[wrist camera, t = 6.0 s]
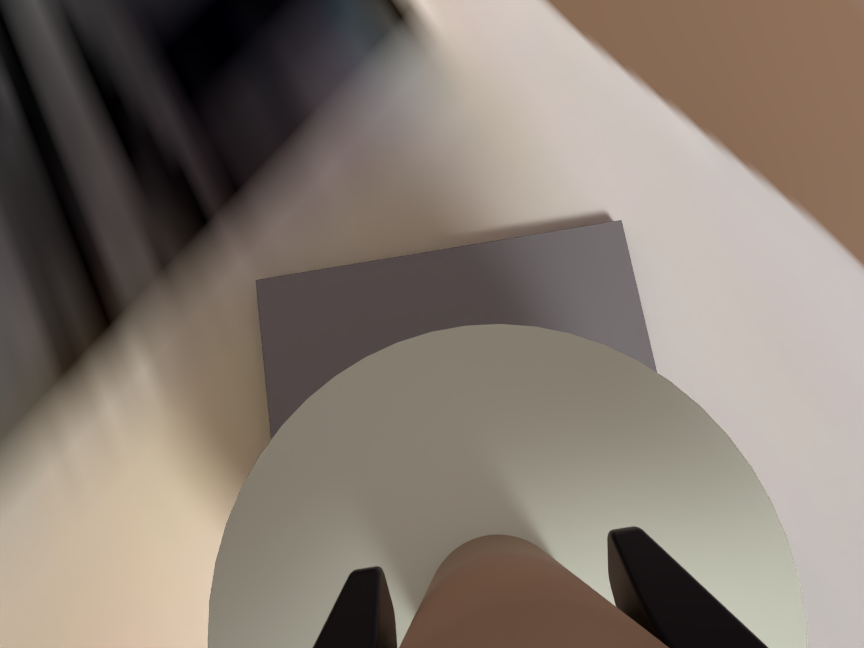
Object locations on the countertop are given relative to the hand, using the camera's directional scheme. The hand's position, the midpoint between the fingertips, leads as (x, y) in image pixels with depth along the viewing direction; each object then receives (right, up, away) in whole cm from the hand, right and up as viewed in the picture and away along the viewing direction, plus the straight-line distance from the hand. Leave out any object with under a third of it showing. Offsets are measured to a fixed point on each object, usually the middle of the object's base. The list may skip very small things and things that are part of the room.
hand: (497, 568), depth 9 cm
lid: (+1, -3, +5) cm, 6 cm away
